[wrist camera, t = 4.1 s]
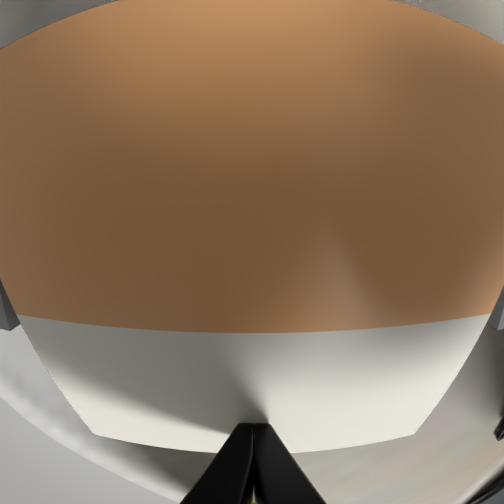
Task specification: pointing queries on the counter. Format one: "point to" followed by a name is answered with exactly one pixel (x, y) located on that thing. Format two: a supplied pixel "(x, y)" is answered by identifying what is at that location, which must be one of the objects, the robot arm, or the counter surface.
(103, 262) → the two-tone square pad
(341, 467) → the counter surface
